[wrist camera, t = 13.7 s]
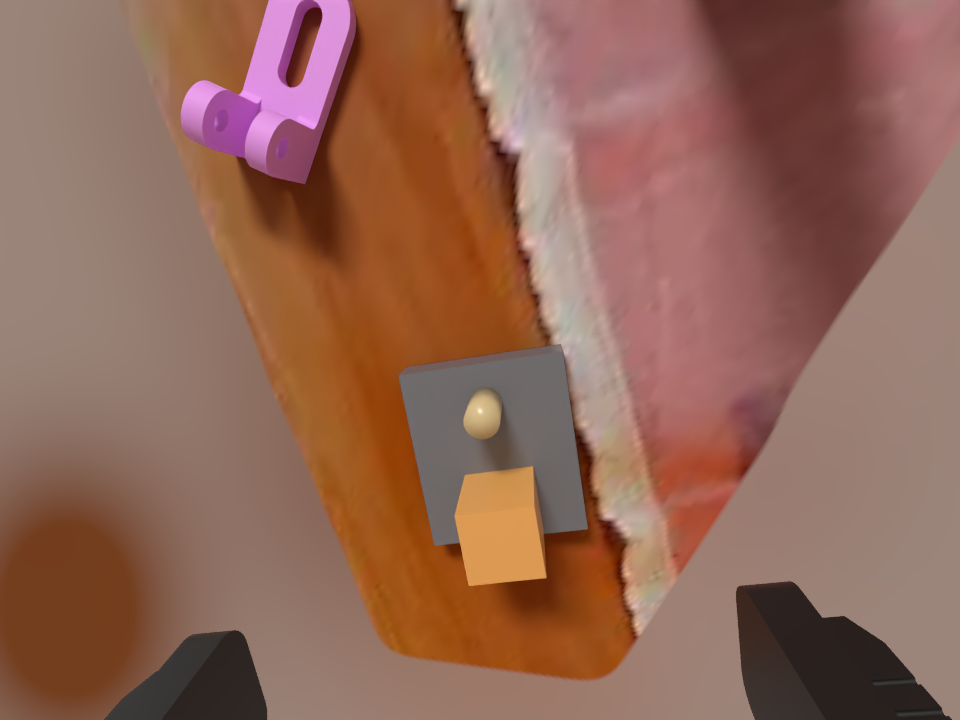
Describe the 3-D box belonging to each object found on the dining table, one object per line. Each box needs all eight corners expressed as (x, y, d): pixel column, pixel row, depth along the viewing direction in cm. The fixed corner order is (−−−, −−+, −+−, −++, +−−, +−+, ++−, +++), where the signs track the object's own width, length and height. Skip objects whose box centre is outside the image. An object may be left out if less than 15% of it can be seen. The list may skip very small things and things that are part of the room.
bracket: (305, 184, 39) (259, 174, 32) (235, 152, 39) (174, 135, 32) (368, -2, 36) (331, -58, 29) (292, -38, 35) (237, -101, 29)
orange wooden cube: (533, 466, 39) (534, 506, 34) (543, 528, 41) (546, 578, 35) (464, 475, 40) (454, 515, 34) (477, 536, 41) (468, 585, 35)
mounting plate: (560, 344, 40) (567, 364, 33) (584, 512, 43) (594, 560, 36) (406, 367, 41) (384, 391, 35) (439, 528, 44) (425, 577, 38)
